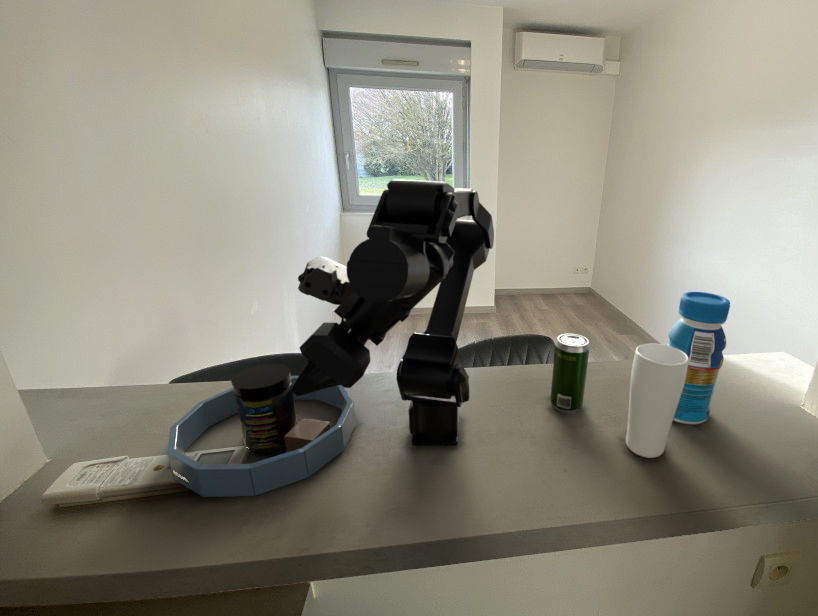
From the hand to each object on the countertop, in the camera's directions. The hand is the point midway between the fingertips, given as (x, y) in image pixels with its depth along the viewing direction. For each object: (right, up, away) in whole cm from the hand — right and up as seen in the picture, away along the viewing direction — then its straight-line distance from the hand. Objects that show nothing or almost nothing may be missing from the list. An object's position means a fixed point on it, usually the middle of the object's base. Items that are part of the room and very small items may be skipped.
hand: (310, 372), depth 49 cm
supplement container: (-9, -11, +8) cm, 16 cm away
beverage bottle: (+53, -9, +19) cm, 57 cm away
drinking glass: (+44, -12, +10) cm, 46 cm away
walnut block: (-3, -12, +6) cm, 13 cm away
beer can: (+34, -9, +19) cm, 40 cm away
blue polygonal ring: (-9, -10, +9) cm, 16 cm away
